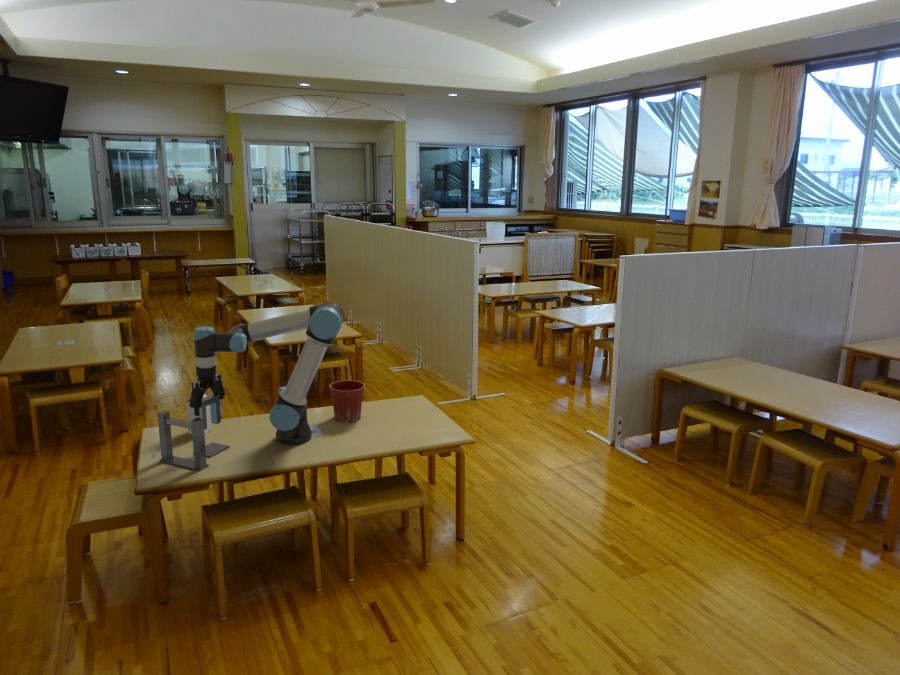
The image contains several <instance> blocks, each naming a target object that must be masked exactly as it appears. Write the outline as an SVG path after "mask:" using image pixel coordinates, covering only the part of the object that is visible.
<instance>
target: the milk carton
mask: <svg viewBox="0 0 900 675" xmlns="http://www.w3.org/2000/svg"><path fill="white" fill-rule="evenodd" d="M206 396H208V395H207V394H205V393H204V396H203V398H204V397H206ZM189 397H190V399H191V394H190V395H189ZM190 399H188V400H187V401H186V402H185V404H186V405H185V408H186V421H190V422H191V420H193V419H195V418H196V416H195V415H194V408H192V407H189V405H190ZM206 417H207V429H205V430H204V435H207V434H209V432H210V431H212V423H211V407H210V405H208V406H206ZM187 433H188V435H189V436H192V429H188V428H187Z"/></svg>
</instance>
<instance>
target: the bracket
mask: <svg viewBox="0 0 900 675" xmlns="http://www.w3.org/2000/svg"><path fill="white" fill-rule="evenodd" d="M208 405H210V416H211V424H216V425H218V424H220V423H221V422H222V421H221V420H222V419H221V417H222V414H220V396H219V395H216V394H213V393H211V394H209V395H207V396H206V397H204V398H203V399H202V402H201V405H200V407H201V408H202V419H203V421H204V430H205V429H207V417H206V406H208Z"/></svg>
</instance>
